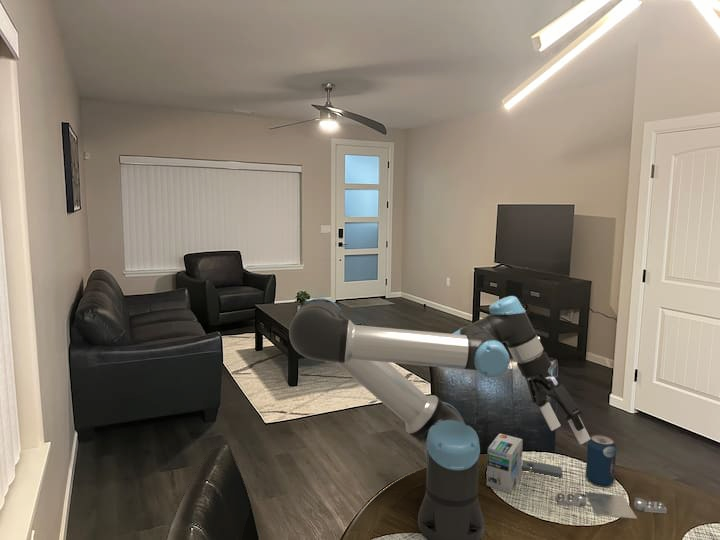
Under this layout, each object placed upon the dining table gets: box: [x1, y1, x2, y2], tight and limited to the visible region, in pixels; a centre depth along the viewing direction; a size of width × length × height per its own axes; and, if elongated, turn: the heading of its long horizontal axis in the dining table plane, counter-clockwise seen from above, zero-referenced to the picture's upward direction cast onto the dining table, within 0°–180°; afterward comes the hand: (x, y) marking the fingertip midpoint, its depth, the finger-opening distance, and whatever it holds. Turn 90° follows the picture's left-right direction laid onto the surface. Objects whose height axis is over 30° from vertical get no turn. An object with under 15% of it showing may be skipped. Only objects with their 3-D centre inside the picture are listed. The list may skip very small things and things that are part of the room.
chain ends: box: [555, 492, 668, 520], centre depth 126 cm, size 25×9×2 cm, turn 82°
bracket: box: [521, 459, 563, 479], centre depth 142 cm, size 4×10×2 cm, turn 69°
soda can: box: [585, 434, 617, 488], centre depth 136 cm, size 7×7×12 cm
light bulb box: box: [486, 432, 524, 494], centre depth 137 cm, size 11×7×11 cm, turn 148°
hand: (569, 434), depth 124 cm, fingers open, 13 cm apart
